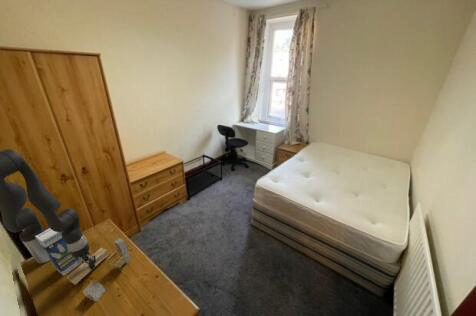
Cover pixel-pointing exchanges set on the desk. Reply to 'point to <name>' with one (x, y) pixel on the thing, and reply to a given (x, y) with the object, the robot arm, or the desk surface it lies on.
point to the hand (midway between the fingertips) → (89, 266)
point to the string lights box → (57, 251)
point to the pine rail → (86, 267)
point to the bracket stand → (96, 289)
